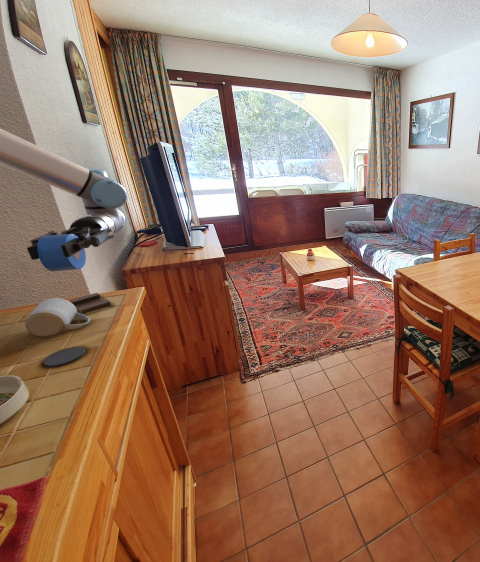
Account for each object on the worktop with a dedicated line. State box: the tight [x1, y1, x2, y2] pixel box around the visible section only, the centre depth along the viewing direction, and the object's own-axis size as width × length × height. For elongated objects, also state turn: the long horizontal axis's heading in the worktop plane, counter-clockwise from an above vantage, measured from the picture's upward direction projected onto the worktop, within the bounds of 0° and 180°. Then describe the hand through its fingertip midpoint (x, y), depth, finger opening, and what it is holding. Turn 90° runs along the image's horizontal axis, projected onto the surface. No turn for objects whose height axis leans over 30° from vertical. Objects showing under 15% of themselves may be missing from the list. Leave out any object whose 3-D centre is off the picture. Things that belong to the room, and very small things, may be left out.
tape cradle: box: [68, 292, 112, 314], centre depth 91 cm, size 11×7×2 cm, turn 56°
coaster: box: [43, 346, 86, 368], centre depth 69 cm, size 7×7×1 cm
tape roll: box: [37, 234, 87, 272], centre depth 73 cm, size 5×8×8 cm, turn 21°
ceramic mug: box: [25, 297, 91, 337], centre depth 79 cm, size 11×8×8 cm
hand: (48, 252), depth 68 cm, fingers closed on tape roll, 5 cm apart
